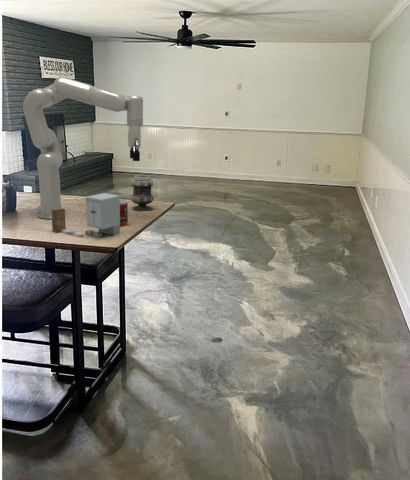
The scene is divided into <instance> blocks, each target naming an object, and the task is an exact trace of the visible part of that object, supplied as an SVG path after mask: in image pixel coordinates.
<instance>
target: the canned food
mask: <svg viewBox="0 0 410 480" xmlns="http://www.w3.org/2000/svg"><path fill="white" fill-rule="evenodd" d="M128 209H129V208H128V201H127V200H125V199H120V227H125V226H127V225H128V221H129V220H128V219H129V217H128Z"/></svg>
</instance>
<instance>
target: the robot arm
mask: <svg viewBox="0 0 410 480" xmlns="http://www.w3.org/2000/svg"><path fill="white" fill-rule="evenodd" d="M65 99H70V100H74V101H78V102H80V103H81V102H82V103H84V104H87V105H90V106H96V107H98V108H101V109H104V110H109V111H112V112H116V113H117V112H118V113H119V112H126V126H127V127H128V133H127V146H128V147H129V149H130V150H129V158H130V159H132V162H141V161H140V160H141V150H140V148H141V143H142V141H141V139H142V138H141V137H142V136H141V135H142V132H141V131H142V130H141V129H142V127H144V97H142V96H140V95H123V94H116V93H112V92H109V91H105V90H103V89H100V88H97V87H95V86H94V85H91V84H89V83H85V82H83V81H82V82H81V81H78V80H75V79H72V78H69V77H66V76H59V77H57V78H56V79H55V80H54V82H53V83H52V84H50V85H48V86H46V87H44V88H35V89H33V90H31V91H30V92H29V93H28V94H27V95H26V96H25V97H24V100H23V103H22V104H23V105H22V106H23V107H22V108H23V110H22V111H23V113H24V117H25V121H26V124H27V127H28V128H27V129H28V131H29V135H30V138H31V141H32V144H33V146H34V147H35V148H37V149H38V150H40V154H39V156H38V157H37V159H36V168H37V173H38V186H39V199H40V205H39V206H38V207H36V210H37V211H39V213H37V218H40V219H43V220H52V212H51V209H54V208H62V200H61V199H62V197H61V196H62V195H61V180H60V178H61V177H60V171H59V168H60V167H61V166H62V164H63V154H62V150H61V146H60V144H59V139H58V137H57V135H56V133H55V131H54V130H52V129H51V128H50V127H48V124H47V120H46V117H45V114H44V112H43V111H44V110H43V109H44V108H45V109H46V108H49V107H52V106H53V105H56V104H57V103H59V102H61V101H63V100H65Z"/></svg>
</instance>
